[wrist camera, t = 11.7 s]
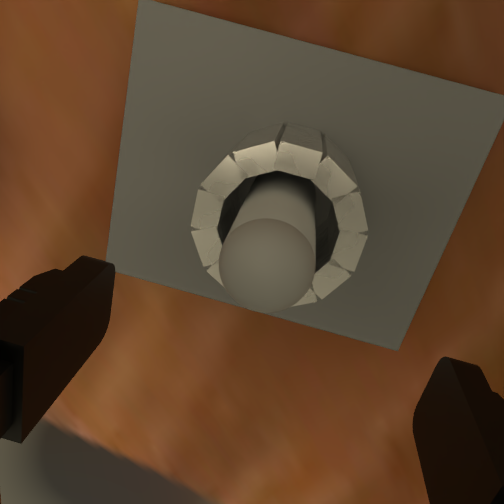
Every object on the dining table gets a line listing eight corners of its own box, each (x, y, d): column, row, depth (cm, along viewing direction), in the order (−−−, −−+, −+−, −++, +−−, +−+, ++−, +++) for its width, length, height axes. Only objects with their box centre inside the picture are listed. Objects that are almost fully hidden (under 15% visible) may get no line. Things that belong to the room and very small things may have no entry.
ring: (374, 145, 20) (392, 171, 16) (330, 271, 23) (334, 325, 18) (234, 107, 20) (211, 122, 16) (206, 237, 23) (179, 282, 18)
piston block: (496, 94, 21) (683, 132, 10) (391, 330, 26) (444, 515, 15) (154, 2, 21) (-7, -54, 10) (119, 253, 26) (-12, 385, 16)
